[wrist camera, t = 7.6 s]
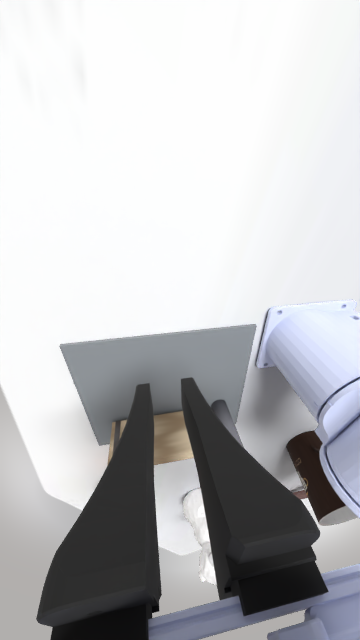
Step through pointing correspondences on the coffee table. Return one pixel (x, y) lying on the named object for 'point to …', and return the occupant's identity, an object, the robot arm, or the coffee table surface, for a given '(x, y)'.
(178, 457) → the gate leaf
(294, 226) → the coffee table surface
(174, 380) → the gate frame
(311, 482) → the coffee mug
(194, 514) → the sitting furry creature
